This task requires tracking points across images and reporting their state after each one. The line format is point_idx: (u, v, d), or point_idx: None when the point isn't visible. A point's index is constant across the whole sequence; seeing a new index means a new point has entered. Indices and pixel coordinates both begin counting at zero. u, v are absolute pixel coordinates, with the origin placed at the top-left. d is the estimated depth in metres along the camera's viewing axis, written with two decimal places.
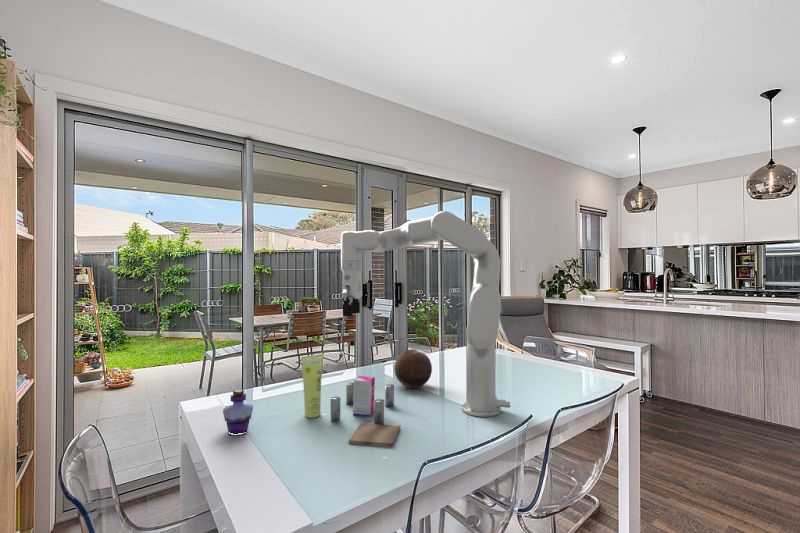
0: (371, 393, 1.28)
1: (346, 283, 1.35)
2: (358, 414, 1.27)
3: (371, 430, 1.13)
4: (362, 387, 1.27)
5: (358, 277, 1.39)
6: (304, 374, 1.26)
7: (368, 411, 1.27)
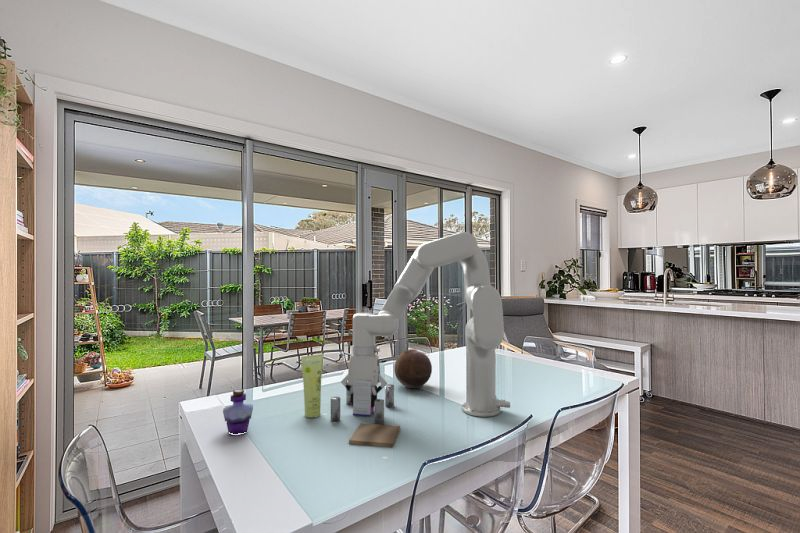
0: (371, 393, 1.28)
1: (378, 369, 1.29)
2: (358, 414, 1.27)
3: (371, 430, 1.13)
4: (362, 387, 1.27)
5: None
6: (304, 374, 1.26)
7: (368, 411, 1.27)
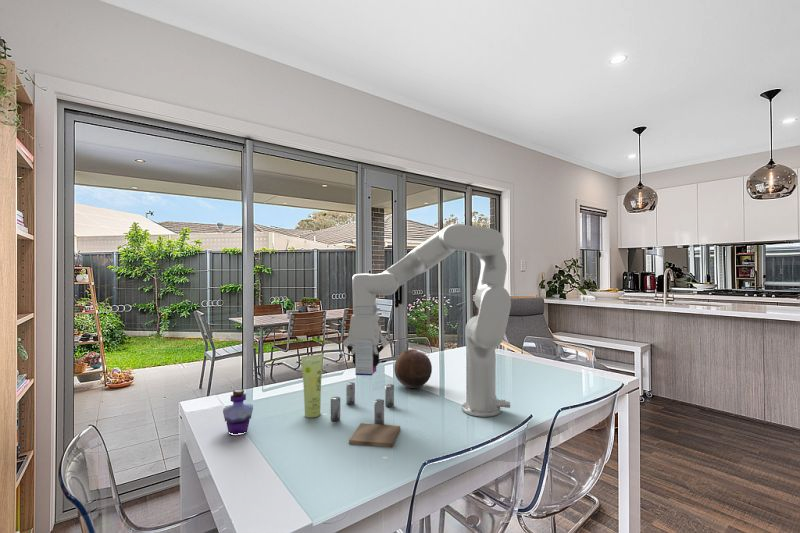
0: (373, 352, 1.28)
1: (379, 329, 1.29)
2: (360, 374, 1.28)
3: (371, 430, 1.13)
4: (364, 346, 1.27)
5: None
6: (304, 374, 1.26)
7: (370, 370, 1.27)
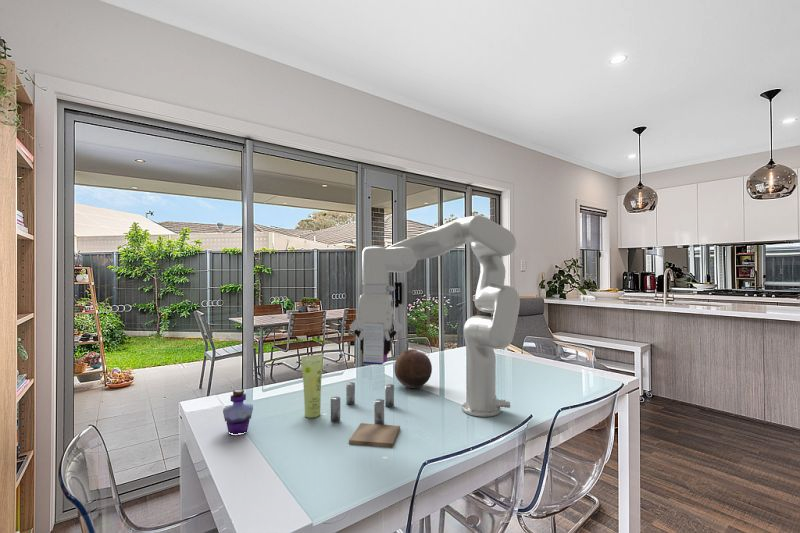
0: (384, 338, 1.11)
1: (392, 311, 1.11)
2: (369, 362, 1.10)
3: (371, 430, 1.13)
4: (373, 331, 1.10)
5: None
6: (304, 374, 1.26)
7: (380, 359, 1.09)
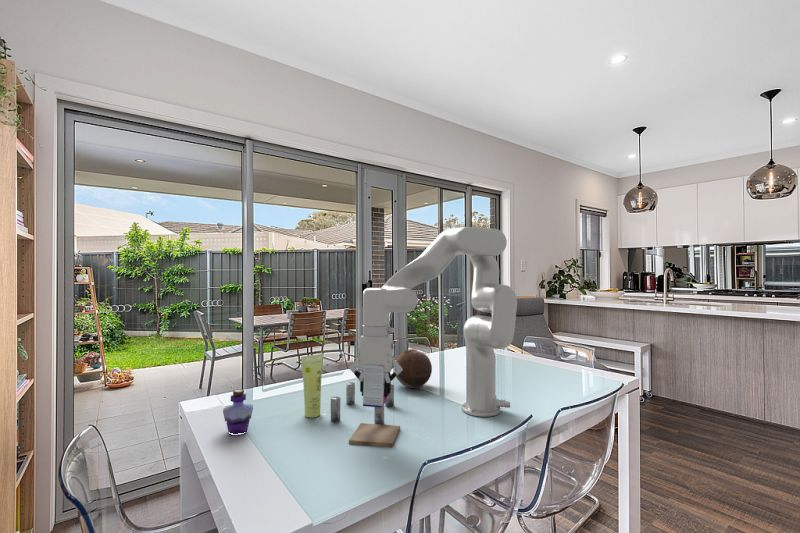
0: (384, 380, 1.10)
1: (392, 353, 1.11)
2: (369, 405, 1.09)
3: (371, 430, 1.13)
4: (374, 373, 1.09)
5: None
6: (304, 374, 1.26)
7: (380, 402, 1.09)
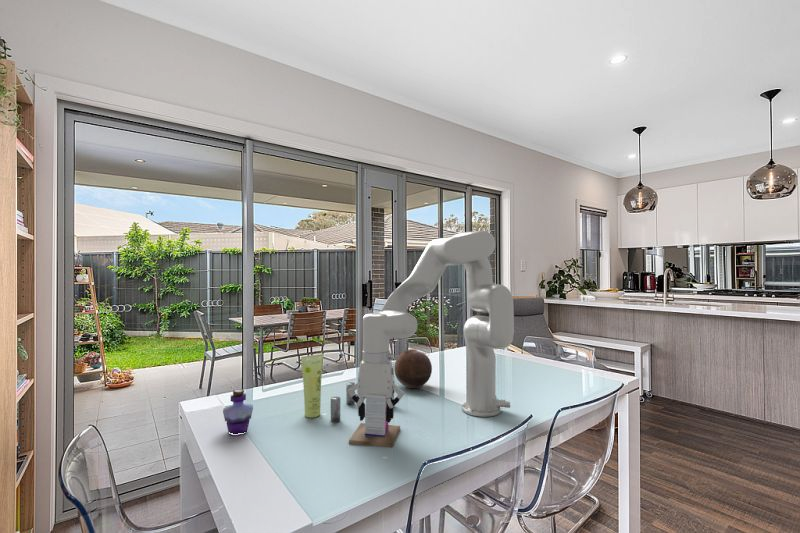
0: (386, 409, 1.10)
1: (392, 379, 1.11)
2: (371, 434, 1.09)
3: None
4: (376, 403, 1.09)
5: None
6: (304, 374, 1.26)
7: (382, 431, 1.09)
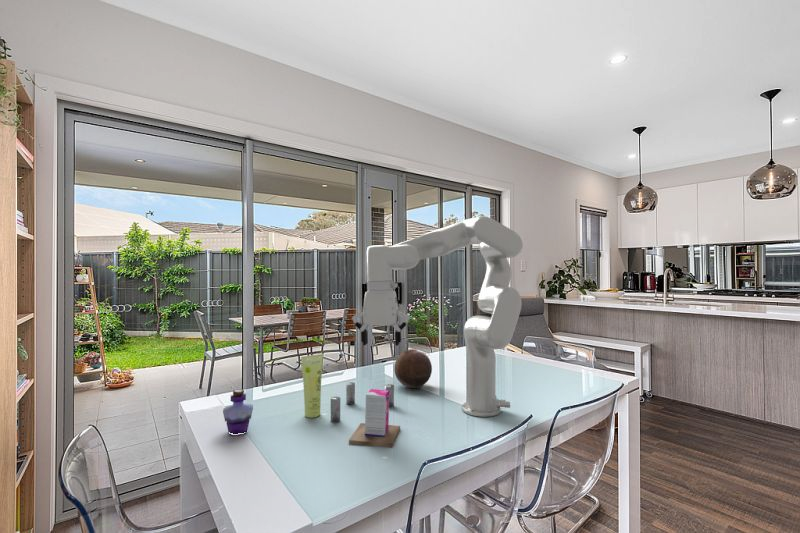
0: (386, 410, 1.10)
1: (396, 307, 1.16)
2: (371, 434, 1.09)
3: None
4: (375, 403, 1.09)
5: None
6: (304, 374, 1.26)
7: (382, 431, 1.09)
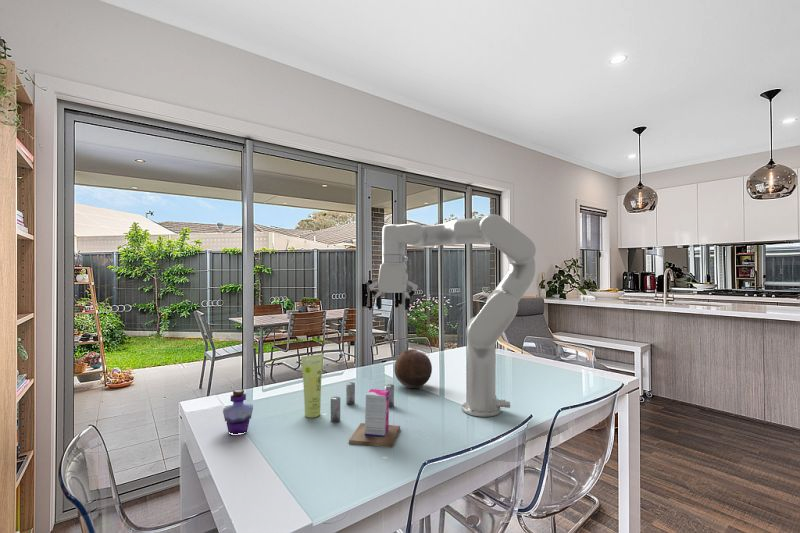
0: (386, 410, 1.10)
1: (407, 277, 1.37)
2: (371, 434, 1.09)
3: None
4: (375, 403, 1.09)
5: None
6: (304, 374, 1.26)
7: (382, 431, 1.09)
